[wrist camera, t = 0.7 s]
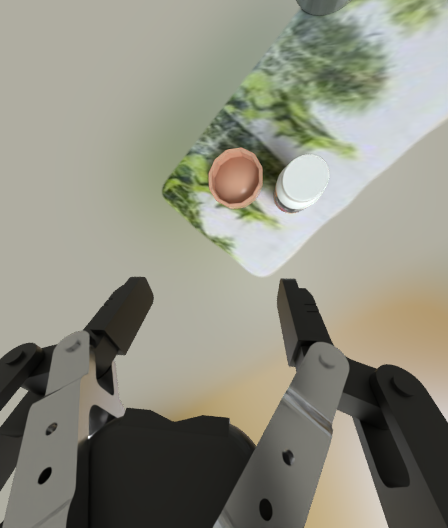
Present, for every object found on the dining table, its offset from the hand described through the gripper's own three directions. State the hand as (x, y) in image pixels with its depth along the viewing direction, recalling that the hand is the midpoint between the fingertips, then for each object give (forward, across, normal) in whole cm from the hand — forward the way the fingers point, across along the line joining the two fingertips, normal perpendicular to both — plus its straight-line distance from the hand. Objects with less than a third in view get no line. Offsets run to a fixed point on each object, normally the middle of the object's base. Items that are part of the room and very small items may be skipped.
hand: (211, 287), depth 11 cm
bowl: (+24, -1, 0) cm, 24 cm away
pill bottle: (+22, -10, +1) cm, 24 cm away
